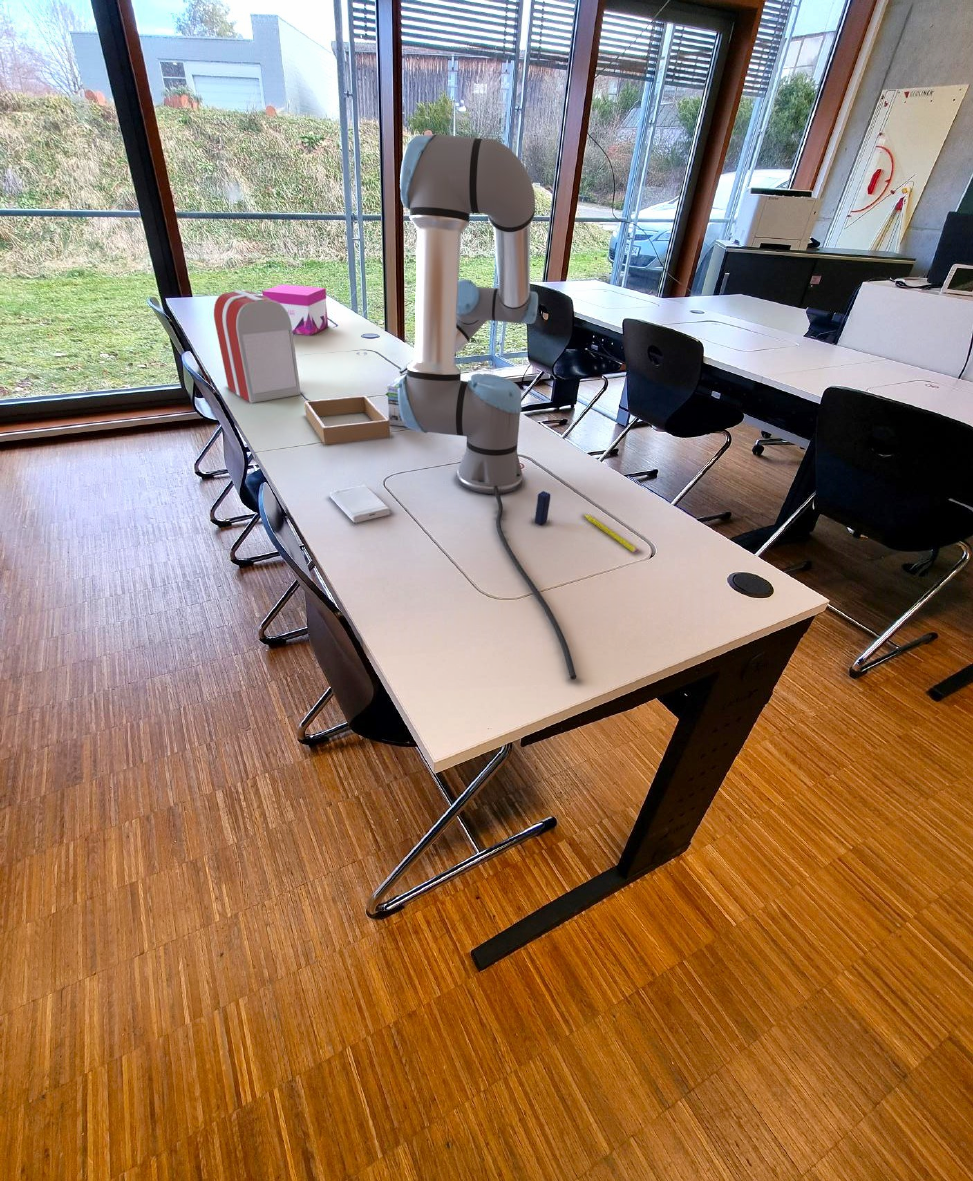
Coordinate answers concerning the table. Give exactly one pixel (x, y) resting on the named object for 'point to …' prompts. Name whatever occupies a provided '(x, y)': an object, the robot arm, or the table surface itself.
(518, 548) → the table surface
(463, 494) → the table surface
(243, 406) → the table surface
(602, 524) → the pencil
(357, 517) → the hard drive
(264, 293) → the decorative box
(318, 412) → the shallow wooden tray
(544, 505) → the navy blue rectangular block
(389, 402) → the light bulb box
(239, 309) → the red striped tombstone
